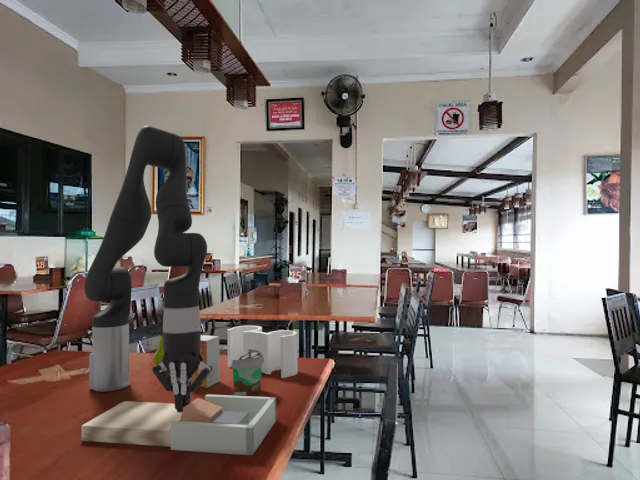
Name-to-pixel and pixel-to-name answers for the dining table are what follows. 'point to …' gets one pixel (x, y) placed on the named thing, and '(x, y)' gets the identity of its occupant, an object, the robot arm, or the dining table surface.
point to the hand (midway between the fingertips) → (182, 411)
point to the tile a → (200, 411)
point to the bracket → (265, 348)
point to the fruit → (159, 352)
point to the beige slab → (133, 424)
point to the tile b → (231, 418)
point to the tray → (227, 427)
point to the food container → (248, 373)
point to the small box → (210, 359)
